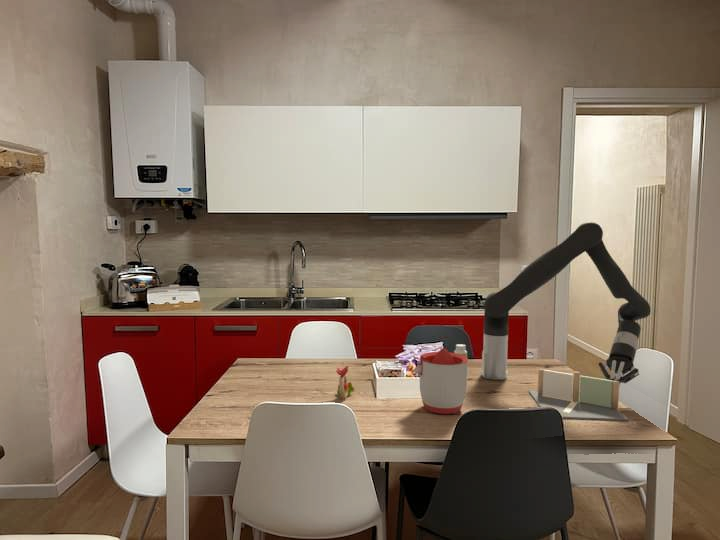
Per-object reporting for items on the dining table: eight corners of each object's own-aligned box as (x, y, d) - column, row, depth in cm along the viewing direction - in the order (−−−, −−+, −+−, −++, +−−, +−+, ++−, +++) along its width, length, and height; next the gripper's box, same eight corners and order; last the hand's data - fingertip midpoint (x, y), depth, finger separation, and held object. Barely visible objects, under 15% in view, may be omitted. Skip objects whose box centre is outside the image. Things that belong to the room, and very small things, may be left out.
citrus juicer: (411, 400, 177) (412, 342, 175) (462, 401, 177) (464, 343, 175) (414, 417, 162) (415, 353, 160) (470, 418, 161) (472, 354, 159)
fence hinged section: (578, 402, 174) (580, 376, 173) (580, 400, 175) (581, 375, 175) (617, 409, 167) (618, 382, 166) (618, 407, 169) (619, 381, 168)
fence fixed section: (579, 401, 176) (580, 372, 175) (577, 402, 174) (579, 373, 173) (538, 393, 183) (539, 365, 182) (536, 395, 182) (538, 366, 181)
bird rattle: (353, 405, 177) (355, 387, 185) (351, 380, 172) (354, 363, 180) (335, 405, 178) (337, 387, 186) (333, 380, 173) (336, 362, 180)
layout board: (548, 418, 162) (548, 415, 161) (528, 392, 186) (528, 390, 186) (628, 421, 160) (628, 418, 160) (598, 394, 184) (598, 392, 184)
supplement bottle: (467, 366, 220) (468, 344, 219) (466, 370, 214) (466, 347, 214) (454, 365, 221) (455, 343, 220) (452, 368, 216) (453, 346, 215)
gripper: (601, 338, 181) (589, 381, 173) (644, 344, 173) (632, 389, 165) (605, 351, 186) (593, 392, 178) (646, 357, 177) (636, 401, 169)
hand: (612, 391), depth 171 cm, fingers closed
